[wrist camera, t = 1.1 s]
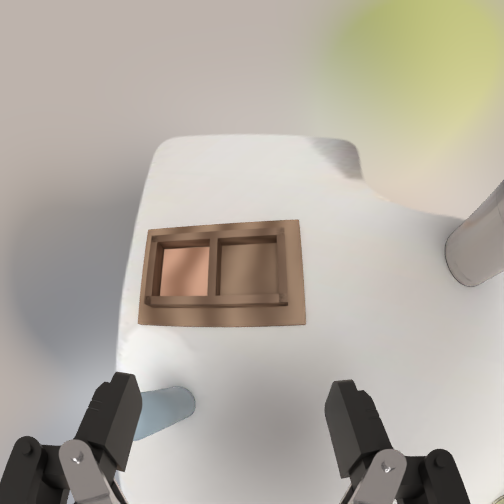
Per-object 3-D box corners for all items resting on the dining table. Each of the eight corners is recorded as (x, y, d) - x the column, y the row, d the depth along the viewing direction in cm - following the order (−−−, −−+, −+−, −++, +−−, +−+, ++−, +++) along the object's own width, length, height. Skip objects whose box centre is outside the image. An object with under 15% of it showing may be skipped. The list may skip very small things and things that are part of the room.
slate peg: (181, 380, 33) (130, 386, 21) (202, 406, 31) (159, 427, 19) (157, 397, 32) (100, 408, 20) (177, 424, 30) (127, 447, 19)
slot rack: (298, 222, 39) (299, 210, 36) (305, 324, 34) (307, 321, 31) (151, 232, 41) (141, 222, 38) (141, 324, 36) (128, 320, 33)
